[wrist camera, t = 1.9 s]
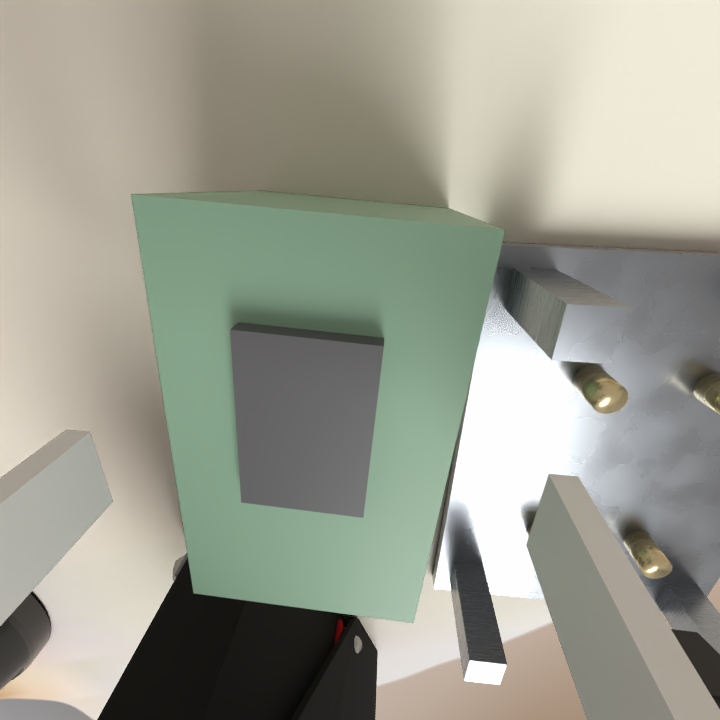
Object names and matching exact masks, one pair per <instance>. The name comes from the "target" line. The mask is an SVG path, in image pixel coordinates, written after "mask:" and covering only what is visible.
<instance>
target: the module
mask: <svg viewBox="0 0 720 720" xmlns="http://www.w3.org/2000/svg"><path fill="white" fill-rule="evenodd" d="M131 197H132V204H133V210H134V216H135V223H136V229H137V236H138V242H139V248H140V255H141V261H142V268H143V274H144V280H145V287H146V293H147V299H148V306H149V312H150V319H151V325H152V331H153V338H154V344H155V350H156V357H157V363H158V370H159V376H160V382H161V389H162V395H163V402H164V408H165V414H166V421H167V427H168V433H169V440H170V446H171V453H172V459H173V465H174V472H175V478H176V484H177V491H178V497H179V504H180V510H181V516H182V523H183V529H184V536H185V542H186V548H187V555H188V561H189V567H190V574H191V580H192V587H193V593H195V594H202V595H209V596H217V597H224V598H232V599H239V600H246V601H254V602H261V603H268V604H276V605H283V606H290V607H298V608H305V609H313V610H320V611H327V612H335V613H342V614H349V615H357V616H364V617H372V618H379V619H386V620H394V621H401V622H408V623H414V619H415V615H416V610H417V606H418V602H419V597H420V593H421V589H422V585H423V580H424V576H425V572H426V567H427V563H428V559H429V555H430V550H431V546H432V542H433V537H434V533H435V529H436V525H437V520H438V516H439V512H440V507H441V503H442V499H443V495H444V490H445V486H446V482H447V478H448V473H449V469H450V465H451V460H452V456H453V452H454V448H455V443H456V439H457V435H458V430H459V426H460V422H461V418H462V413H463V409H464V405H465V400H466V396H467V392H468V388H469V383H470V379H471V375H472V370H473V366H474V362H475V358H476V353H477V349H478V345H479V341H480V336H481V332H482V328H483V323H484V319H485V315H486V311H487V306H488V302H489V298H490V293H491V289H492V285H493V281H494V276H495V272H496V268H497V263H498V259H499V255H500V251H501V246H502V242H503V238H504V233H505V230H504V229H501V228H499V227H496V226H494V225H491V224H488V223H486V222H483V221H481V220H478V219H475V218H473V217H470V216H468V215H465V214H462V213H460V212H457V211H454V210H452V209H449V208H440V207H429V206H418V205H408V204H397V203H386V202H376V201H365V200H355V199H344V198H333V197H323V196H312V195H301V194H291V193H280V192H270V191H230V192H193V193H157V194H131Z"/></svg>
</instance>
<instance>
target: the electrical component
mask: <svg viewBox="0 0 720 720" xmlns="http://www.w3.org/2000/svg"><path fill="white" fill-rule="evenodd" d="M173 580H174V583H173V584H172V586H171V588H170V590H169V592H168V593H167V595H166V597H165V599H164V601H163V602H162V604H161V606H160V608H159V610H158V611H157V613H156V615H155V617H154V619H153V620H152V622H151V624H150V626H149V628H148V629H147V631H146V633H145V635H144V637H143V638H142V640H141V642H140V644H139V646H138V647H137V649H136V651H135V653H134V655H133V656H132V658H131V660H130V662H129V664H128V665H127V667H126V669H125V671H124V673H123V674H122V676H121V678H120V680H119V682H118V683H117V685H116V687H115V689H114V691H113V692H112V694H111V696H110V698H109V700H108V701H107V703H106V705H105V707H104V709H103V710H102V712H101V714H100V716H99V718H98V719H97V720H375V709H376V680H377V650H376V648H375V646H374V645H373V643H372V641H371V640H370V638H369V636H368V635H367V633H366V631H365V630H364V628H363V626H362V625H361V623H360V622H359V620H357V618H353V619H350V620H348V621H345V620H344V618H343V616H342V615H341V613H335V612H327V611H320V610H313V609H305V608H298V607H290V606H283V605H276V604H268V603H261V602H254V601H246V600H239V599H232V598H224V597H217V596H209V595H202V594H195V593H193V587H192V580H191V574H190V567H189V561H188V555H187V553H186V555H184V556H182V557H181V558H179V559H178V560H176V562H175V565H174V569H173Z"/></svg>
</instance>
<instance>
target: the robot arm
mask: <svg viewBox="0 0 720 720" xmlns="http://www.w3.org/2000/svg"><path fill="white" fill-rule="evenodd" d="M112 502H113V500H112V497H111V494H110V491H109V488H108V485H107V481H106V478H105V475H104V472H103V469H102V466H101V463H100V460H99V457H98V454H97V451H96V447H95V444H94V441H93V438H92V435H91V432H86V431H75V430H65V431H64V432H62V433H61V434H60V435H58V436H57V437H55V438H54V439H53V440H51V441H50V442H49V443H47V444H46V445H45V446H43V447H42V448H41V449H39V450H38V451H36V452H35V453H34V454H32V455H31V456H30V457H28V458H27V459H26V460H24V461H23V462H21V463H20V464H19V465H17V466H16V467H15V468H13V469H12V470H11V471H9V472H8V473H7V474H5V475H4V476H2V477H1V478H0V690H1V689H2V688H3V687H4V686H5V685H6V684H7V683H8V682H9V681H11V680H13V679H14V678H16V677H17V676H19V675H20V674H21V673H22V672H24V671H25V670H26V669H27V668H28V666H29V665H30V664H31V663H32V662H33V660H34V659H35V658H36V656H37V655H38V654H39V652H40V651H41V650H42V648H43V647H44V646H45V644H46V643H47V642H48V640H49V638H50V634H51V626H50V622H49V619H48V616H47V614H46V613H45V611H44V609H43V608H42V606H41V605H40V604H39V602H38V601H37V600H36V599H35V598H34V597H33V596H32V595H31V594H30V593H31V592H32V591H33V590H34V588H35V587H36V586H37V585H38V584H39V583H40V582H41V581H42V580H43V578H44V577H45V576H46V575H47V574H48V573H49V572H50V571H51V570H52V569H53V567H54V566H55V565H56V564H57V563H58V562H59V561H60V560H61V559H62V557H63V556H64V555H65V554H66V553H67V552H68V551H69V550H70V549H71V547H72V546H73V545H74V544H75V543H76V542H77V541H78V540H79V539H80V538H81V536H82V535H83V534H84V533H85V532H86V531H87V530H88V529H89V528H90V526H91V525H92V524H93V523H94V522H95V521H96V520H97V519H98V518H99V517H100V515H101V514H102V513H103V512H104V511H105V510H106V509H107V508H108V507H109V505H110V504H111V503H112ZM526 546H527V549H528V552H529V555H530V558H531V560H532V563H533V566H534V569H535V572H536V575H537V578H538V581H539V583H540V586H541V589H542V592H543V595H544V598H545V601H546V603H547V606H548V609H549V612H550V615H551V618H552V621H553V624H554V626H555V629H556V632H557V635H558V638H559V641H560V644H561V646H562V649H563V652H564V655H565V658H566V661H567V664H568V666H569V669H570V672H571V675H572V678H573V681H574V683H575V687H576V689H577V692H578V695H579V698H580V701H581V704H582V707H583V709H584V712H585V715H586V718H587V720H720V654H719V653H718V652H717V651H716V650H715V649H714V648H713V647H712V646H711V645H710V644H709V643H708V642H707V641H706V640H705V639H704V638H703V637H702V636H701V635H700V634H699V633H698V632H692V631H683V630H675V629H671V628H670V627H669V625H668V624H667V622H666V620H665V619H664V617H663V615H662V614H661V612H660V610H659V609H658V607H657V605H656V604H655V602H654V601H653V599H652V597H651V596H650V594H649V592H648V591H647V589H646V587H645V586H644V584H643V582H642V581H641V579H640V578H639V576H638V574H637V573H636V571H635V569H634V568H633V566H632V564H631V563H630V561H629V559H628V558H627V556H626V555H625V553H624V551H623V550H622V548H621V546H620V545H619V543H618V541H617V540H616V538H615V536H614V535H613V533H612V532H611V530H610V528H609V527H608V525H607V523H606V522H605V520H604V518H603V517H602V515H601V513H600V512H599V510H598V508H597V507H596V505H595V504H594V502H593V500H592V499H591V497H590V495H589V494H588V492H587V490H586V489H585V487H584V485H583V484H582V482H581V481H580V479H579V477H578V476H568V475H557V474H548V477H547V481H546V484H545V487H544V490H543V493H542V496H541V499H540V503H539V506H538V509H537V512H536V515H535V518H534V522H533V525H532V528H531V531H530V534H529V537H528V540H527V544H526Z"/></svg>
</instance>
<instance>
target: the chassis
mask: <svg viewBox="0 0 720 720" xmlns="http://www.w3.org/2000/svg"><path fill="white" fill-rule="evenodd" d="M548 474H557V475H568V476H578V477H579V479H580V481H581V482H582V484H583V485H584V487H585V489H586V490H587V492H588V494H589V495H590V497H591V499H592V500H593V502H594V504H595V505H596V507H597V508H598V510H599V512H600V513H601V515H602V517H603V518H604V520H605V522H606V523H607V525H608V527H609V528H610V530H611V532H612V533H613V535H614V536H615V538H616V540H617V541H618V543H619V545H620V546H621V548H622V550H623V551H624V553H625V555H626V556H627V558H628V559H629V561H630V563H631V564H632V566H633V568H634V569H635V571H636V573H637V574H638V576H639V578H640V579H641V581H642V582H643V584H644V586H645V587H646V589H647V591H648V592H649V594H650V596H651V597H652V599H653V601H654V602H655V604H656V605H657V607H658V609H659V610H660V611H661V612H663V614H664V616H665V617H666V619H667V621H668V622H669V623H670V625H671V627H672V628H673V629H675V630H683V631H692V632H698V633H699V634H700V635H701V636H702V637H703V638H704V639H705V640H706V641H707V642H708V643H709V644H710V645H711V646H712V647H713V648H714V649H715V650H716V651H717V652H718V653H719V654H720V614H719V612H718V611H717V610H716V609H715V607H714V606H713V605H712V603H711V602H710V601H709V599H708V598H707V596H708V594H709V593H710V591H711V590H712V588H713V586H714V585H715V583H716V582H717V580H718V579H719V577H720V253H717V252H696V251H675V250H654V249H633V248H612V247H590V246H569V245H548V244H527V243H506V242H502V246H501V251H500V255H499V259H498V263H497V268H496V272H495V276H494V281H493V285H492V289H491V293H490V298H489V302H488V306H487V311H486V315H485V319H484V323H483V328H482V332H481V336H480V341H479V345H478V349H477V353H476V358H475V362H474V366H473V370H472V375H471V379H470V383H469V388H468V392H467V396H466V400H465V405H464V409H463V413H462V418H461V422H460V426H459V430H458V435H457V439H456V444H455V450H454V456H453V461H452V467H451V473H450V479H449V484H448V490H447V496H446V502H445V507H444V513H443V519H442V525H441V531H440V536H439V542H438V548H437V554H436V559H435V565H434V571H433V584H434V589H443V590H451V593H452V600H453V607H454V614H455V621H456V628H457V635H458V642H459V649H460V656H461V663H462V670H463V677H464V681H470V682H479V683H487V684H496V685H500V683H501V680H502V678H503V674H504V672H505V669H506V666H507V662H506V658H505V654H504V650H503V645H502V641H501V637H500V633H499V629H498V624H497V620H496V616H495V612H494V608H493V603H492V599H491V595H490V594H492V595H502V596H512V597H522V598H532V599H542V600H545V598H544V595H543V592H542V589H541V586H540V583H539V581H538V578H537V575H536V572H535V569H534V566H533V563H532V560H531V558H530V555H529V552H528V549H527V546H526V544H527V540H528V537H529V534H530V531H531V528H532V525H533V522H534V518H535V515H536V512H537V509H538V506H539V503H540V499H541V496H542V493H543V490H544V487H545V484H546V481H547V477H548Z"/></svg>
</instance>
